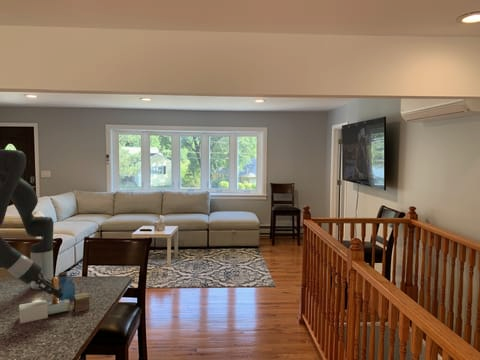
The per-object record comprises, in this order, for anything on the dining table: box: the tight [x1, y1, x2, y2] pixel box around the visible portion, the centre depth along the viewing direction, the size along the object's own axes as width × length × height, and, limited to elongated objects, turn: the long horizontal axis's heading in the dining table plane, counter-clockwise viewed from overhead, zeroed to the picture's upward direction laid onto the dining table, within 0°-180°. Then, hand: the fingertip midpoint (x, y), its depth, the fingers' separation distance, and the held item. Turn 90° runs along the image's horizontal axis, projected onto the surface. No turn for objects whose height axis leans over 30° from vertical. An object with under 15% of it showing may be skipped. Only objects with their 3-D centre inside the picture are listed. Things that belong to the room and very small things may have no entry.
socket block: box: [73, 292, 90, 313], centre depth 147 cm, size 5×5×5 cm
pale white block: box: [18, 299, 49, 324], centre depth 138 cm, size 5×9×5 cm, turn 123°
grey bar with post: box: [47, 276, 71, 315], centre depth 140 cm, size 3×16×13 cm, turn 123°
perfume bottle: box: [58, 271, 76, 302], centre depth 155 cm, size 6×6×12 cm
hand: (60, 294), depth 143 cm, fingers open, 5 cm apart
